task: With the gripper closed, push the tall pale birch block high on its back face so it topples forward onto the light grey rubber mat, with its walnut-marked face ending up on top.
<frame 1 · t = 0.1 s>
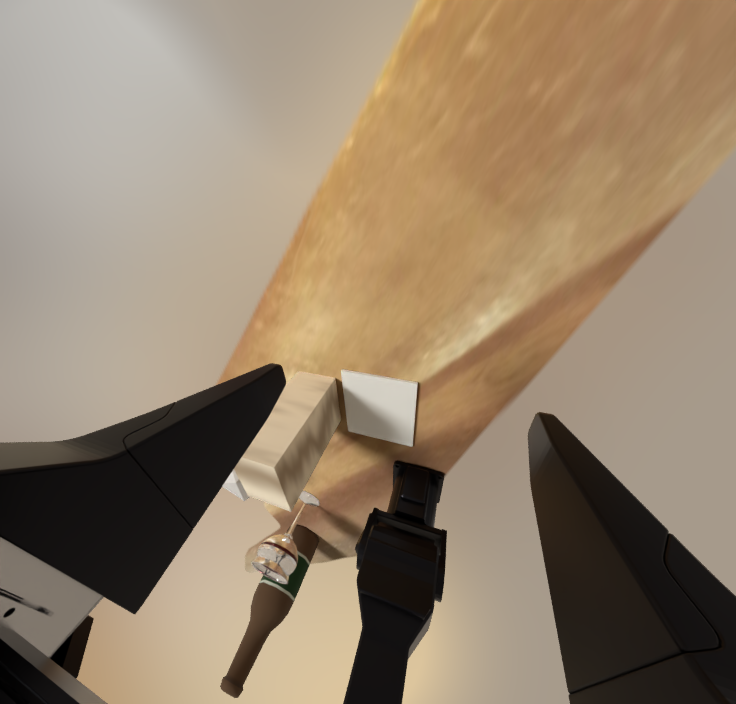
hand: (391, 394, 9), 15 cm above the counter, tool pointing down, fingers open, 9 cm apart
beer bottle: (304, 532, 61), on the counter
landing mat: (379, 408, 31), on the counter
wineglass: (308, 497, 51), on the counter
die: (265, 446, 46), on the counter
birch block: (320, 396, 33), on the counter
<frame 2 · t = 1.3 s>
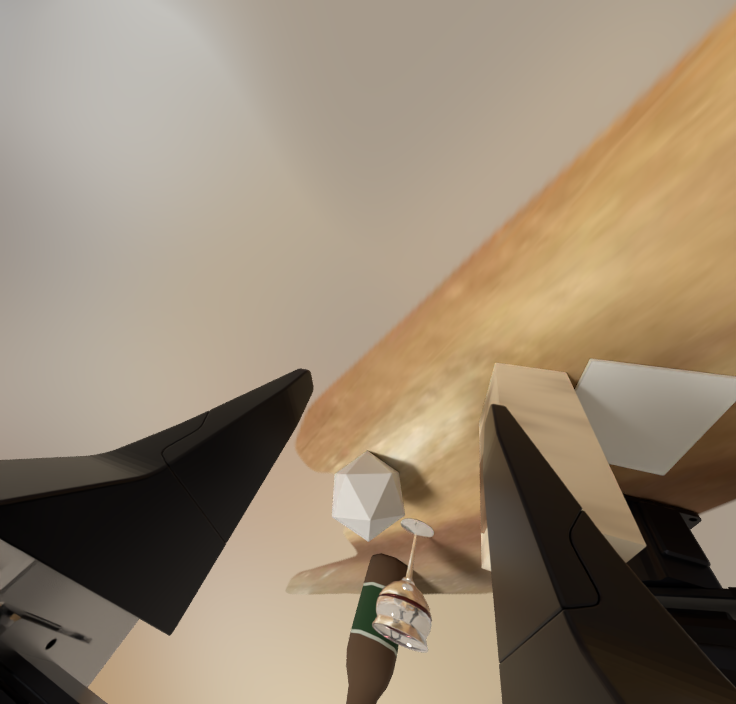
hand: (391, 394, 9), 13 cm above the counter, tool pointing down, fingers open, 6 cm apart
beer bottle: (390, 562, 51), on the counter
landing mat: (628, 419, 21), on the counter
wineglass: (417, 527, 40), on the counter
die: (377, 464, 35), on the counter
birch block: (517, 400, 23), on the counter
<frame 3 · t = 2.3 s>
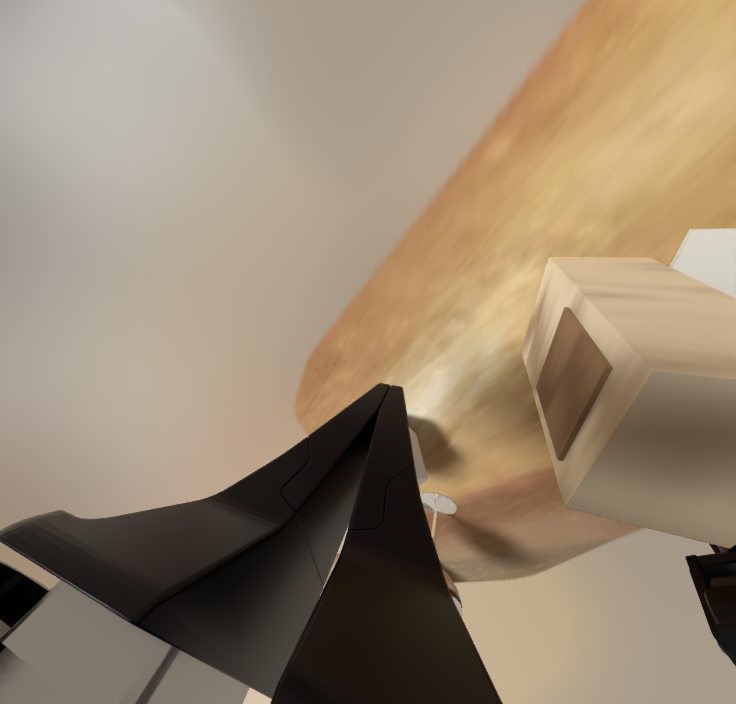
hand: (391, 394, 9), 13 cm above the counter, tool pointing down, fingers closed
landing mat: (734, 321, 15), on the counter
wineglass: (437, 502, 35), on the counter
die: (391, 425, 30), on the counter
birch block: (576, 311, 18), on the counter
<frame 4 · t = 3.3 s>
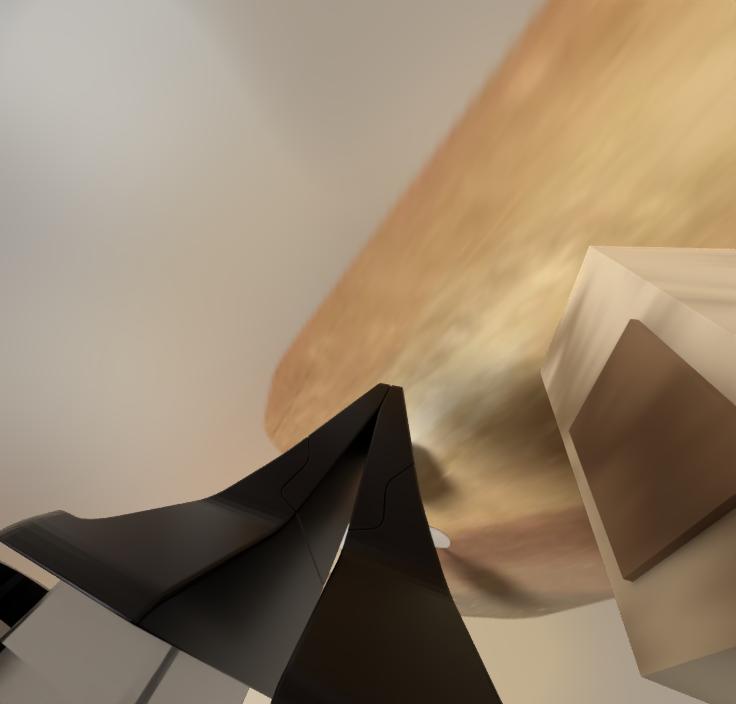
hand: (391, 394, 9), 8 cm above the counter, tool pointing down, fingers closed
birch block: (620, 322, 13), on the counter
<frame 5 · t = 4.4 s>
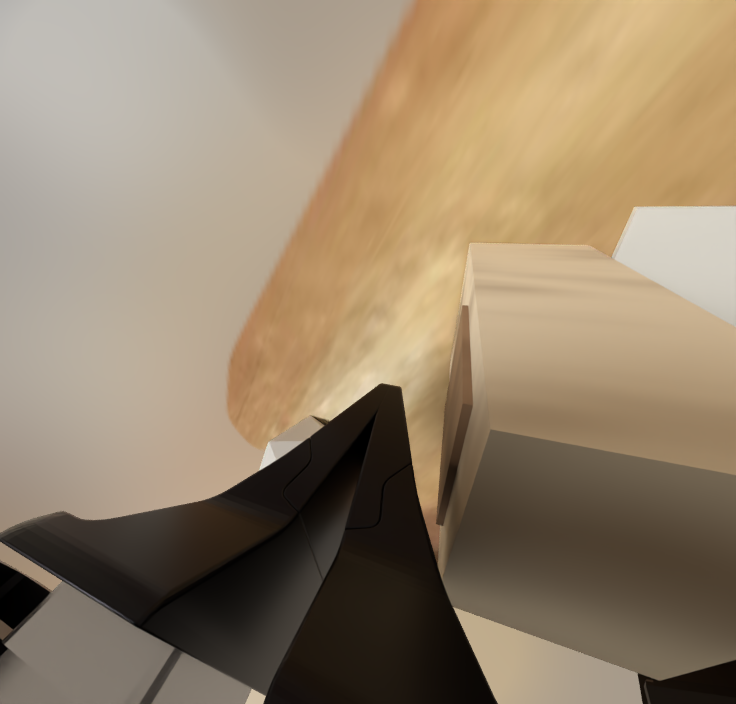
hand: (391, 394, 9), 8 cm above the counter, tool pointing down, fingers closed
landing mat: (692, 329, 12), on the counter
die: (326, 435, 27), on the counter
birch block: (507, 312, 14), on the counter, touching gripper
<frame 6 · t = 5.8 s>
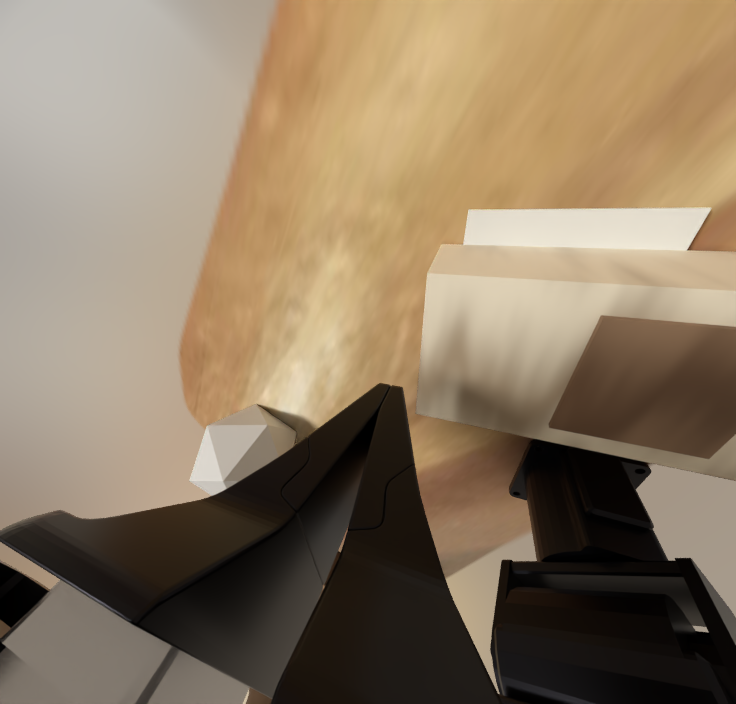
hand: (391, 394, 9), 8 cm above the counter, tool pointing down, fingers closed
beer bottle: (325, 550, 44), on the counter
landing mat: (537, 316, 14), on the counter
die: (273, 422, 28), on the counter
birch block: (428, 328, 13), point 3 cm above the counter, tilted 90°, touching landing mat
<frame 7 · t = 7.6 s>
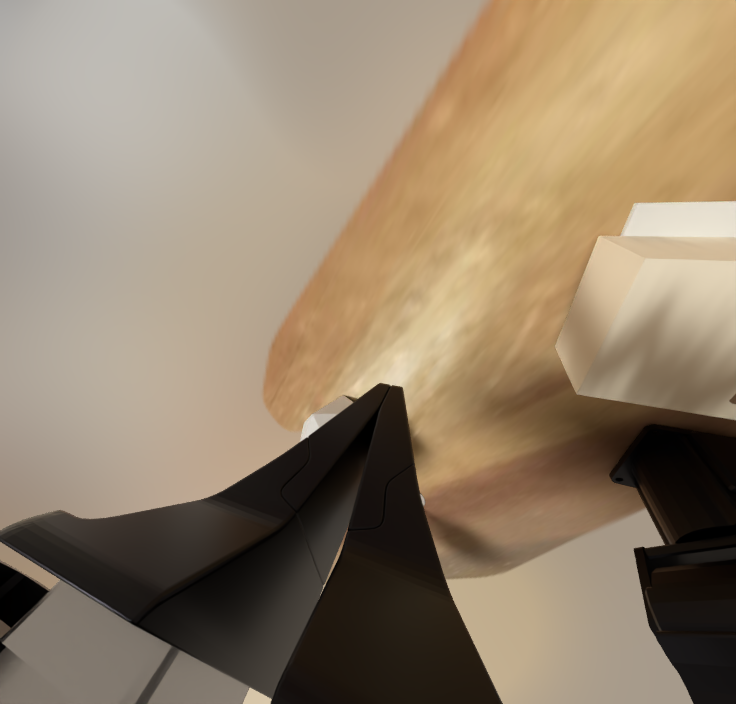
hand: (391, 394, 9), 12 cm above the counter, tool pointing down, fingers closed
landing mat: (684, 303, 15), on the counter
die: (356, 413, 29), on the counter
birch block: (587, 314, 14), point 3 cm above the counter, tilted 90°, touching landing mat
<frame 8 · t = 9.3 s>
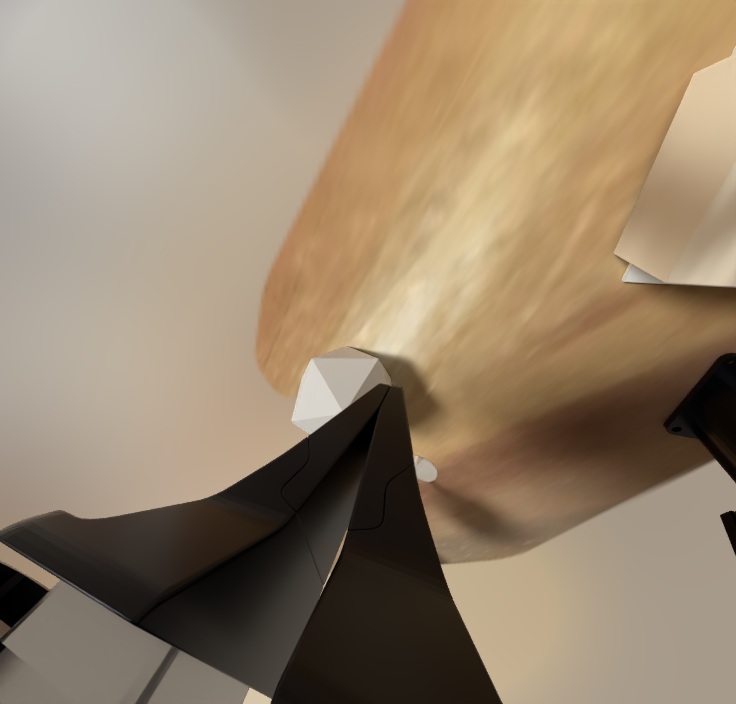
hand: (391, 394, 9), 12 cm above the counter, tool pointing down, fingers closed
wineglass: (415, 467, 31), on the counter
die: (362, 370, 26), on the counter
birch block: (679, 177, 11), point 3 cm above the counter, tilted 90°, touching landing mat
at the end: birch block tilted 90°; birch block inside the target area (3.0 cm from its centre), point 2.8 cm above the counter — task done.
